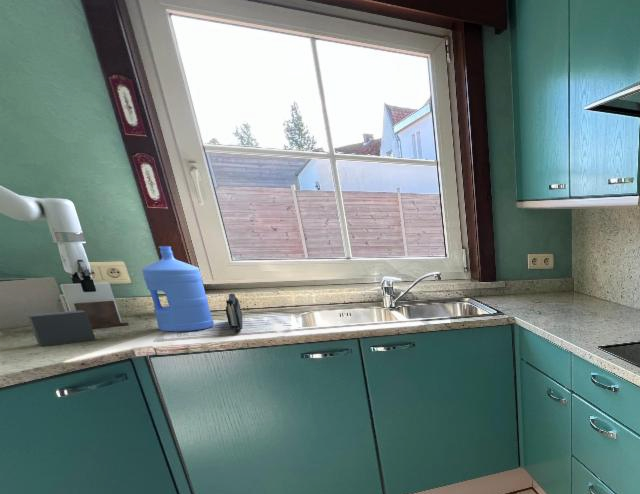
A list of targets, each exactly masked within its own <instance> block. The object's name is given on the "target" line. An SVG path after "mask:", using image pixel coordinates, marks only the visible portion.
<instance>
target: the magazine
mask: <svg viewBox="0 0 640 494" xmlns="http://www.w3.org/2000/svg"><path fill="white" fill-rule="evenodd" d="M225 313H226V318H227V323H228V327H229V329H231V330H234V333H236V334H237V333H240V331H239V330H240V329H242V328H243V327H244V326H243V325H244V324H243V323H244V322H243V313H242V308H241V304H240V301H239V299H238V298H237V297H236V294H235V293H229V294H228V299H227V300H226V306H225Z"/></svg>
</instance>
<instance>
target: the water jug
mask: <svg viewBox="0 0 640 494" xmlns="http://www.w3.org/2000/svg"><path fill="white" fill-rule="evenodd" d="M158 248H159V250H160V251H159V252H160V255H161V259H159V260H158V261H155V262H153V263H151V264H149V265H147V266H144V267H143V268H142V269H141V272H142V277H143V280H144V282H145V285H146V288H147V290H149V293H150V296H151V300H152V303H153V306H154V309H153V311H154V315H155V318H156V321H157V327H158V329H159V330H161V331H163V332H168V331H174V332H173V333H178V332H179V333H181V332H182V333H183V332H193V331H195V332H196V331H201V330H206V329H210V328H212V327H213V326H214V325H215V324H214V319H213V317H212V313H211V309H210V305H209V299H208V297H207V294H206V290H205V286H204V283H203V276H202V273H201V272H200V268H199V267H198V266H195V265H193V264H189V263H187V262H184V261H181V260H178V259H176V258H175V257H174V253H173V251H172V246H169V245H161V246H158ZM158 292H163V293H164V294H165V298H166V300H167V304H168V305H167V306H163V305H161V301H160V297H159V294H158Z"/></svg>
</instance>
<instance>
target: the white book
mask: <svg viewBox="0 0 640 494" xmlns="http://www.w3.org/2000/svg"><path fill="white" fill-rule="evenodd" d="M94 285H95V288H96V292H83V289H82V286H81V283H80V284H73V283H63V284H60V285H59V286H60V289H61V292H62V295H64V297H65V300H66V303H67V305H68V308H69V311H76V309H75V306H74V303H86V302H99V301H114V304H115V307H116V310H117V313H118V316H119V319H120V322H122V321H123V320H122V318H121V314H120V312H119V308H118V305H117V304H116V300H115V297H114V293H113V290H112V287H111V284H110V282H109V281H103V282H102V281H101V282H94ZM121 320H122V321H121Z"/></svg>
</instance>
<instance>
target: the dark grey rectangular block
mask: <svg viewBox="0 0 640 494" xmlns="http://www.w3.org/2000/svg"><path fill="white" fill-rule="evenodd" d="M26 317H27V319H28V322H29V325H30V327H31V330H32V332H33V335H34V337H35V339H36V342H37V345H39V346H41V347H51V346H59V345H66V344H67V345H68V344H75V343H84V342H91V341H92V342H93V341H96V340H97V338H96V336H95V333H94V329H92V327H91V324H90V321H89V319H88V316H87V313H86V312H85V311H82V310H79V311H67V312H65V311H55V312H45V313H31V314H26Z"/></svg>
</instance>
